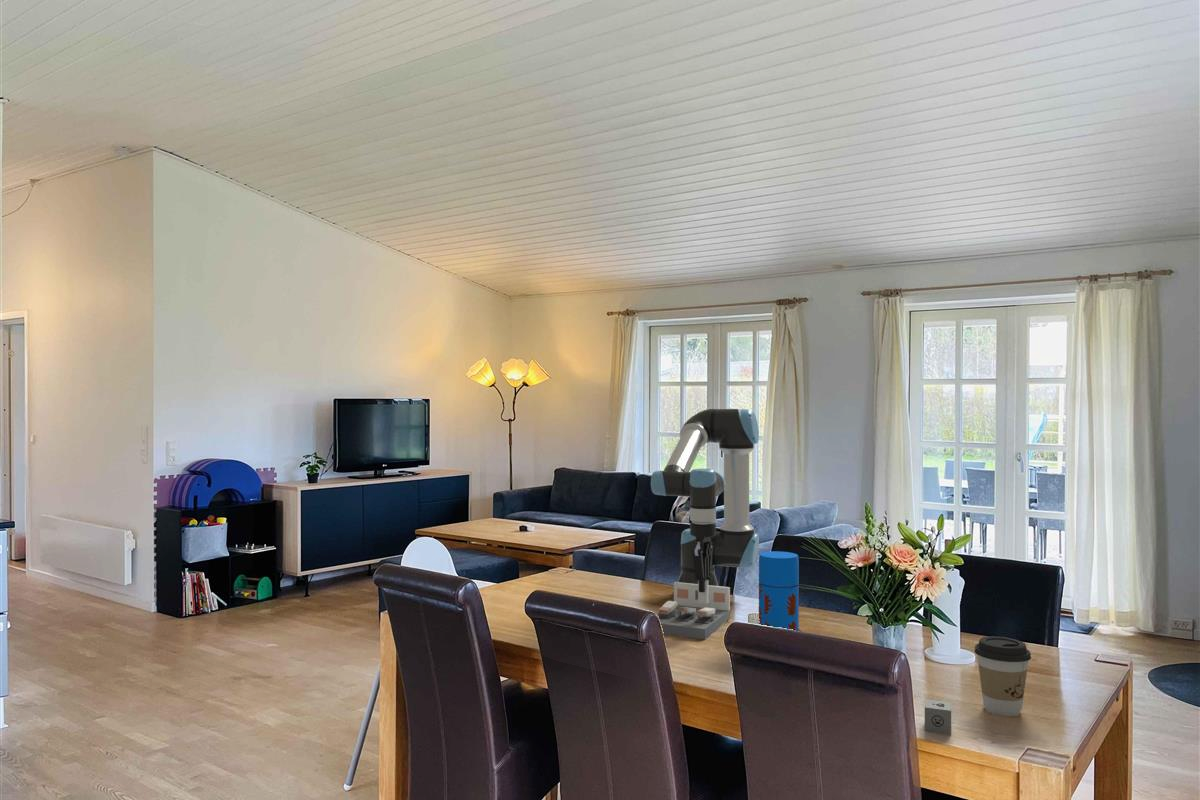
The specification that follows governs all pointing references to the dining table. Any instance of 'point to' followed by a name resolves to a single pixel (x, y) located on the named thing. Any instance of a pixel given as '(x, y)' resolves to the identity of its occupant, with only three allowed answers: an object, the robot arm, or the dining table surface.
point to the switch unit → (690, 621)
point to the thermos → (779, 589)
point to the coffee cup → (1002, 674)
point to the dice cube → (938, 717)
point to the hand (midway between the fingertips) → (703, 602)
